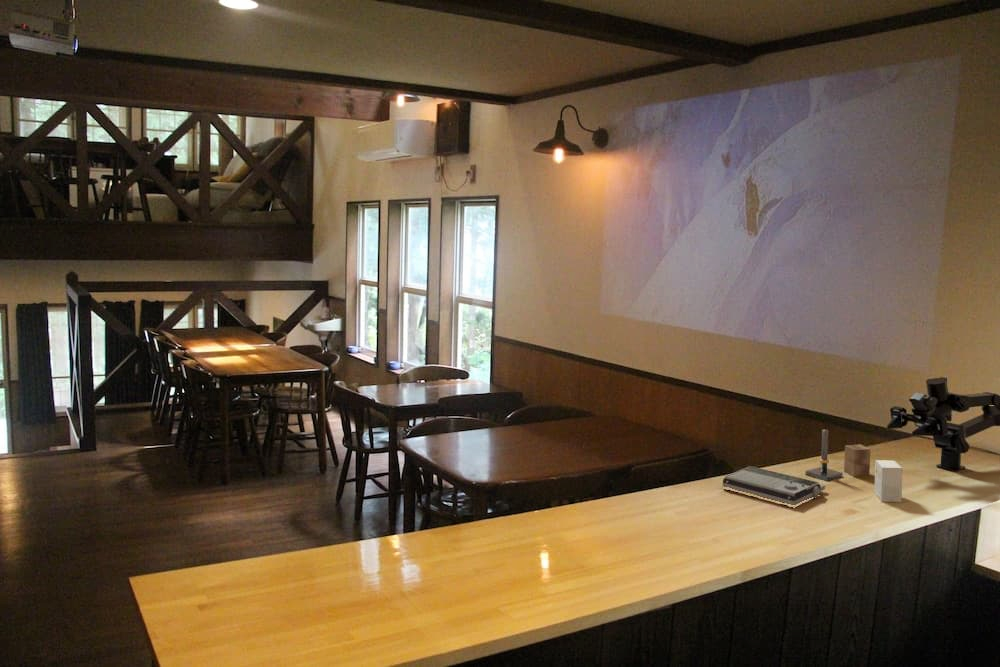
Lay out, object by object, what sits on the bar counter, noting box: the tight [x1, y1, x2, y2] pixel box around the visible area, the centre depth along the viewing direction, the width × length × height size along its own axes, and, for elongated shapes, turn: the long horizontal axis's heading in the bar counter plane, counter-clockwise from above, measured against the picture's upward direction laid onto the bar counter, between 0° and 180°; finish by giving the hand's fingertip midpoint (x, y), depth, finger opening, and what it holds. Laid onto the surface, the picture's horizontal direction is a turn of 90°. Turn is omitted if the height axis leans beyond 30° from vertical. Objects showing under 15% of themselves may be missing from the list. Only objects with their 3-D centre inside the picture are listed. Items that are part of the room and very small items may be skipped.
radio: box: [722, 465, 826, 505], centre depth 242 cm, size 24×5×20 cm
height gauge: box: [805, 429, 843, 482], centre depth 255 cm, size 8×8×15 cm
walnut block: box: [843, 444, 871, 478], centre depth 256 cm, size 6×6×9 cm
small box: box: [874, 459, 903, 503], centre depth 234 cm, size 8×6×10 cm
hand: (899, 430), depth 249 cm, fingers open, 9 cm apart
